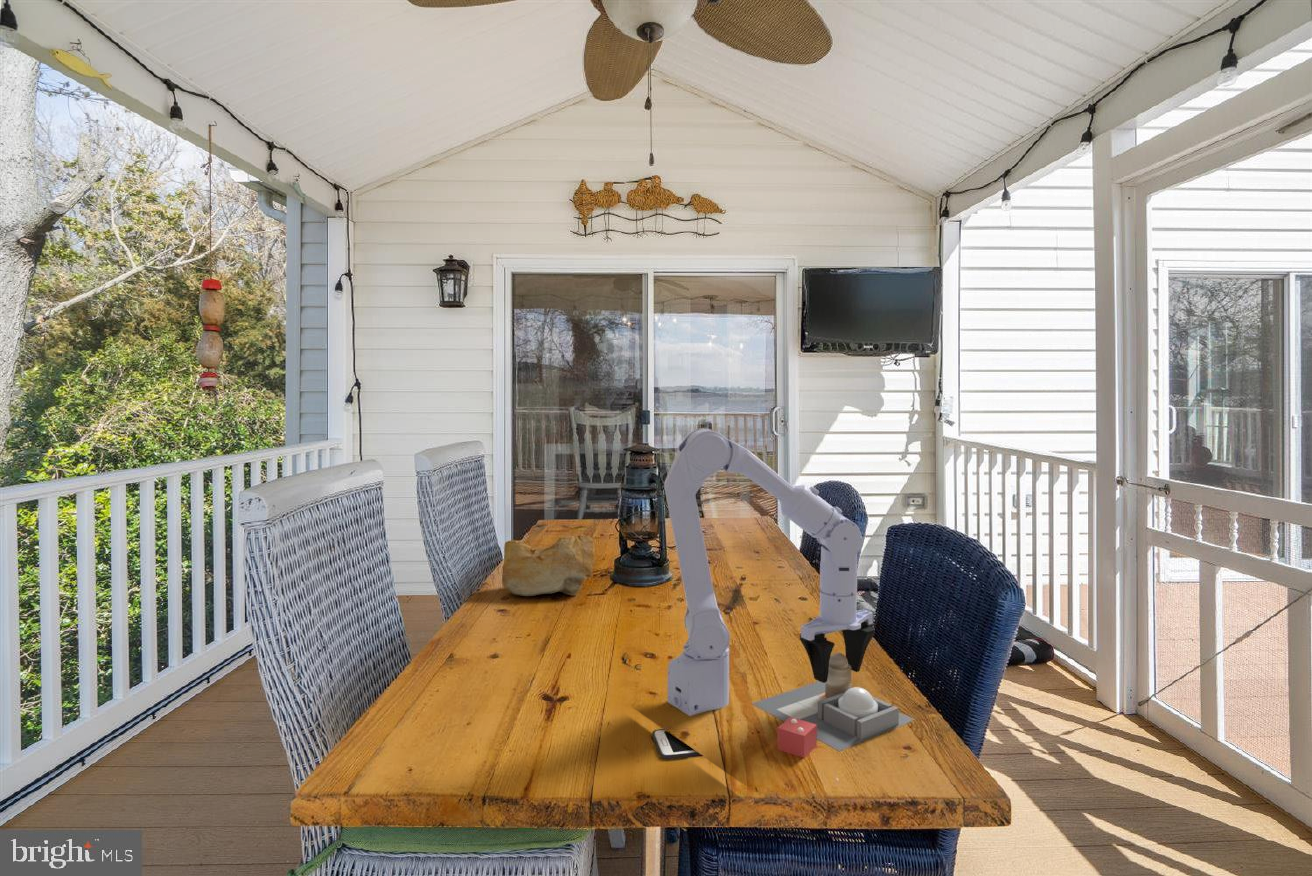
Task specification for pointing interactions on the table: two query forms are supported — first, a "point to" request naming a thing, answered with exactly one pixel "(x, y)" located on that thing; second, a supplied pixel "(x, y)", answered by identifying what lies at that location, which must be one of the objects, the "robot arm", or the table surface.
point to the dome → (858, 703)
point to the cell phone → (672, 746)
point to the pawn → (838, 675)
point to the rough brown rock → (548, 566)
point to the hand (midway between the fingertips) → (837, 675)
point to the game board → (832, 715)
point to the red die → (797, 737)
